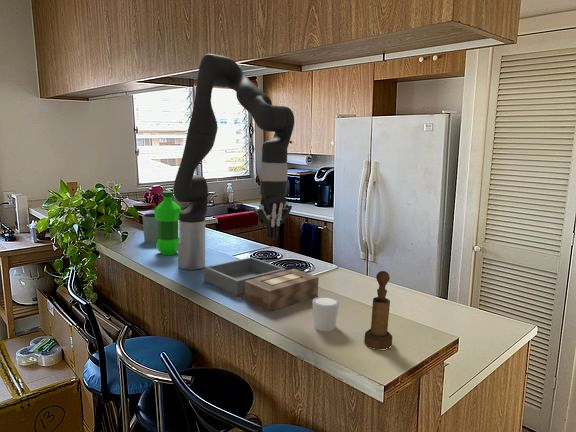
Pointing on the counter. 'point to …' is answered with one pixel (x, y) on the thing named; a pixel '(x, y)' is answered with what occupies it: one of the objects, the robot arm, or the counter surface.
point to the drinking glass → (150, 228)
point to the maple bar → (282, 279)
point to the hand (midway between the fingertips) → (272, 238)
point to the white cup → (325, 313)
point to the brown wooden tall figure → (379, 317)
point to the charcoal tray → (238, 274)
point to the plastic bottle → (167, 224)
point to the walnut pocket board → (281, 290)
